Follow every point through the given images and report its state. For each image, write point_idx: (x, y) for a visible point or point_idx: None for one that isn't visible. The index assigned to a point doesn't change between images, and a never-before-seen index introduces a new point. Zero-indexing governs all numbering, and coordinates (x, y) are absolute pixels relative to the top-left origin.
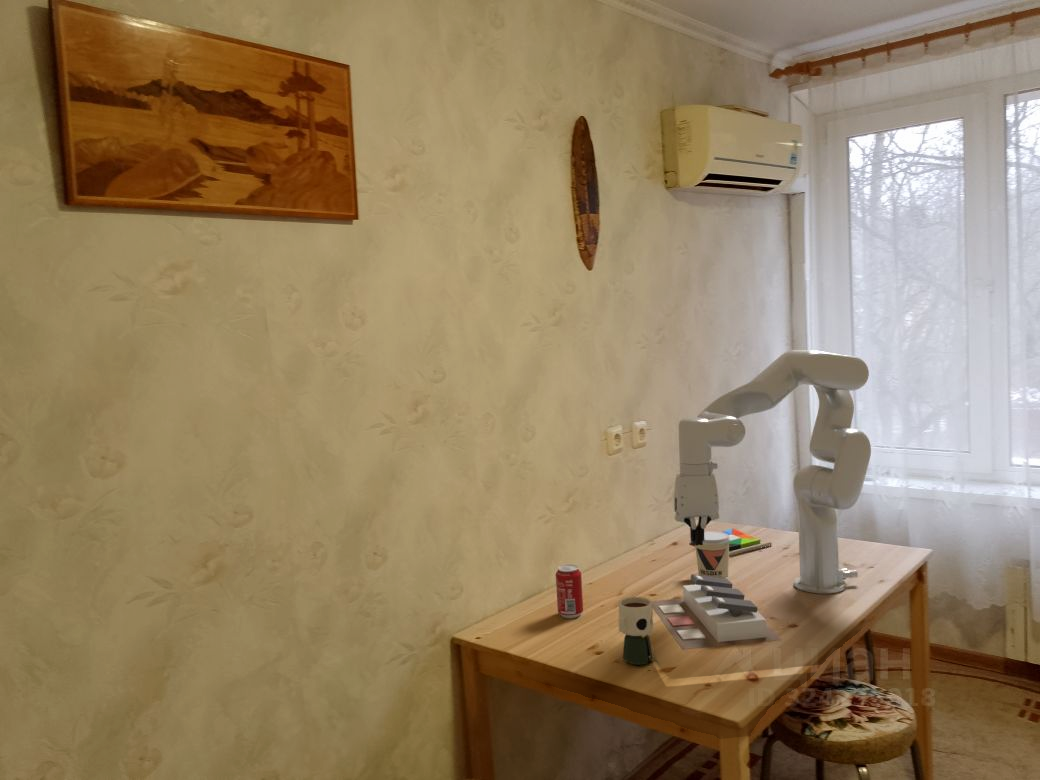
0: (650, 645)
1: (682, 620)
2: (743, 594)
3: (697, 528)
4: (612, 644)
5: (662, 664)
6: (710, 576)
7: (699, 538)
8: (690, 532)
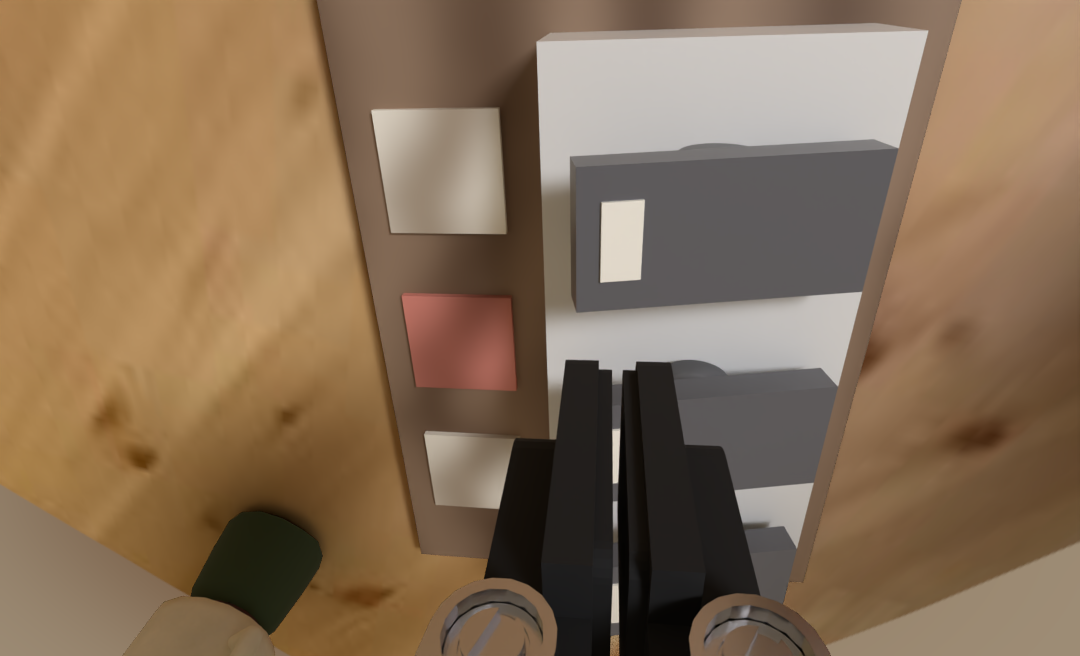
0: (294, 599)
1: (469, 345)
2: (815, 472)
3: (625, 651)
4: (179, 412)
5: (354, 570)
6: (752, 158)
7: (619, 576)
8: (497, 529)
